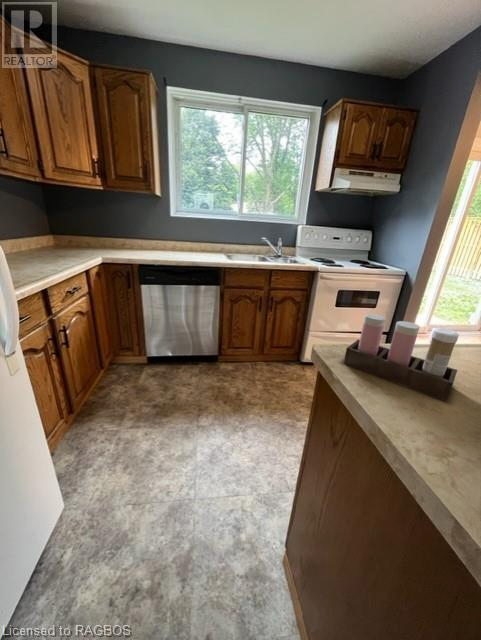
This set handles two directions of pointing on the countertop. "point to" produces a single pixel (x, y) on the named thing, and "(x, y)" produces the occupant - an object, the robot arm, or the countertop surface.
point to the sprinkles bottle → (439, 351)
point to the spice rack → (401, 371)
